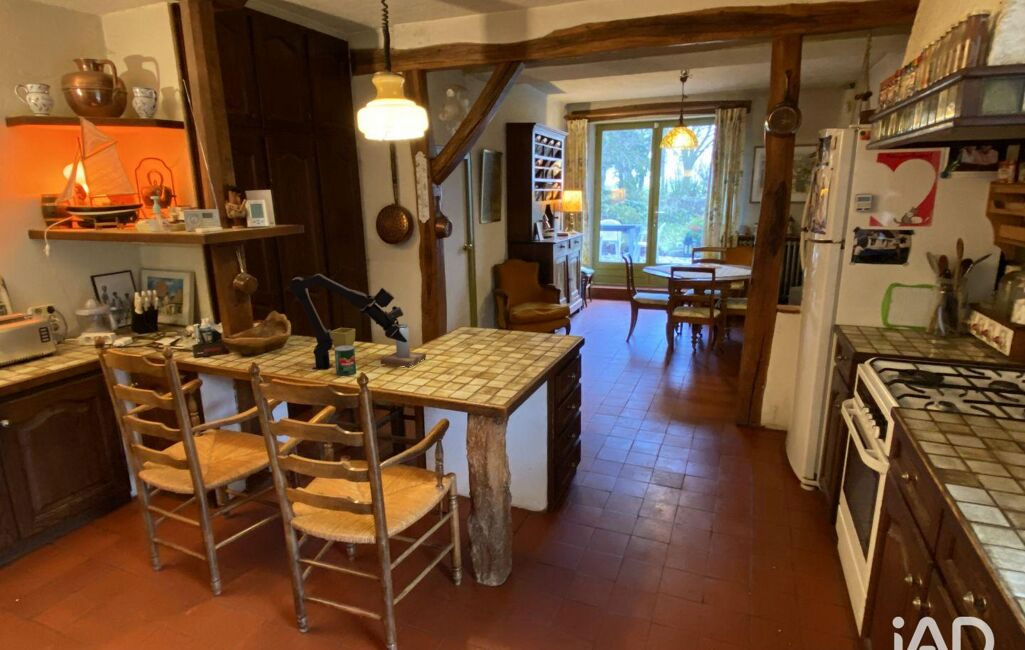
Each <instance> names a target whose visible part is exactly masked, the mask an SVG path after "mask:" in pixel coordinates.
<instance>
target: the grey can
mask: <svg viewBox="0 0 1025 650" xmlns="http://www.w3.org/2000/svg"><path fill="white" fill-rule="evenodd" d="M398 326H399V329H400V333H401V334H402V335H403V336H404V337H405V339H406V340H407V342H406V343H405V342H401V341H398V340H395V348H396V350H395V352H396V353H397V357H398V358H407V357H409V356H410V352H411V351H410V330H409V325H408V324H407V323H399V324H398Z"/></svg>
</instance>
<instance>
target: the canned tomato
mask: <svg viewBox="0 0 1025 650" xmlns="http://www.w3.org/2000/svg"><path fill="white" fill-rule="evenodd" d="M355 350H356V349H355V346H354V345H353V346H351V345H343V346H338V347H334V362H335V363H334V364H335V375H336V376H337V377H339V376H348V377H351V376H350V375H353V376H355V375H356V374H357V364H356V353H355V352H356V351H355ZM354 374H355V375H354Z"/></svg>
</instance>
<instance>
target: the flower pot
mask: <svg viewBox="0 0 1025 650" xmlns="http://www.w3.org/2000/svg"><path fill="white" fill-rule="evenodd" d="M331 333H332V335H333V336H334V342H333V347H334V348H335V347H338V346H343V345H351V346H354V343H355V340H356V328H349V327H339V328H337V329H333V330H331Z"/></svg>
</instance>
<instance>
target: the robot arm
mask: <svg viewBox="0 0 1025 650" xmlns="http://www.w3.org/2000/svg"><path fill="white" fill-rule="evenodd" d="M288 285H289V286H288V287H289V289H290V291H291V293H292V294H293V295H294V297H295V298H296V299H297V300H298V301H299V302H300V304H301V306H302V309H303V312H305V314H306V317H307V318H308V321H309V323H310V324H311V327H312V329H313V332H314V333H315V334H314V335H315V338H316V343H317V344H316V345H315V346H314V349H313V351H312V352H313V354H314V361H315V362H314V363H315V365H314V366H312V370H329V369H330V368H332V367H333V366H334V364H333V363H331V361H330V351H331V350H332V349H333V347H334V345H333V342H334V336H333V335H332V333H331V331H332V330H331V328H330V329H326V327H325V326H324V325H323V323H322V320H321V318H320V316H319V314H318V312H317V309H316V308H315V306H314V303H313V302H312V300H311V296H310V294H309V289H308V288H313V287H314V286H317V285H318V286H320V287H322V288H325V289H326V290H328V291H330V292H332V293H335V294H336V295H338V296H341V298H344V299H345V300H347V301H348V303H350V304H351V305H353V306H354V307H355V308H358V309H360V316H361V318H362V317H364V316H365V315H366V316H367V317H369V319H372V321H373V322H375V324H376V325H378V326H380V327H381V328H382V330H383V331H384V335H385V337H386V338H388V339H392V340H395V341H396V340H398V341H401V342H405V343H406V342H407V340H406V339H405V337H404V336H403V335H402V334H401V333H400V329H399V326H398V324H400V323H399V320H398V318H400V317H402V316H404V315H405V314H404V312H403V310H402V309H401V307H400V306H396V305H394V306H392V307H391V308H392V309H391V310H390V311H386V310H383V309H382V308H387V307H388V306H389V305H390V304H391V302H392V301H393V300H394V299H395V297H394V295H393V294H392V293H391V292H390V291H388V290H387V289H385V288H384V287H381V288H380V289H379V291H378V292H377V293H376V294H375V295H370V294H369V295H368V294H366V293H364V292H362V291H359V290H355V289H351V288H348V287H346V286H344V285H342V284H341V283H338V282H336V281H334V280H332V279H330V278H328V277H327V276H324V275H323V274H322V273H316V274H315V275H313V274H312V275H309V276H306V277H300V276H297V277H294V278H293V279H292V280H291V281H290V282H289V284H288ZM328 368H329V369H328Z"/></svg>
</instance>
